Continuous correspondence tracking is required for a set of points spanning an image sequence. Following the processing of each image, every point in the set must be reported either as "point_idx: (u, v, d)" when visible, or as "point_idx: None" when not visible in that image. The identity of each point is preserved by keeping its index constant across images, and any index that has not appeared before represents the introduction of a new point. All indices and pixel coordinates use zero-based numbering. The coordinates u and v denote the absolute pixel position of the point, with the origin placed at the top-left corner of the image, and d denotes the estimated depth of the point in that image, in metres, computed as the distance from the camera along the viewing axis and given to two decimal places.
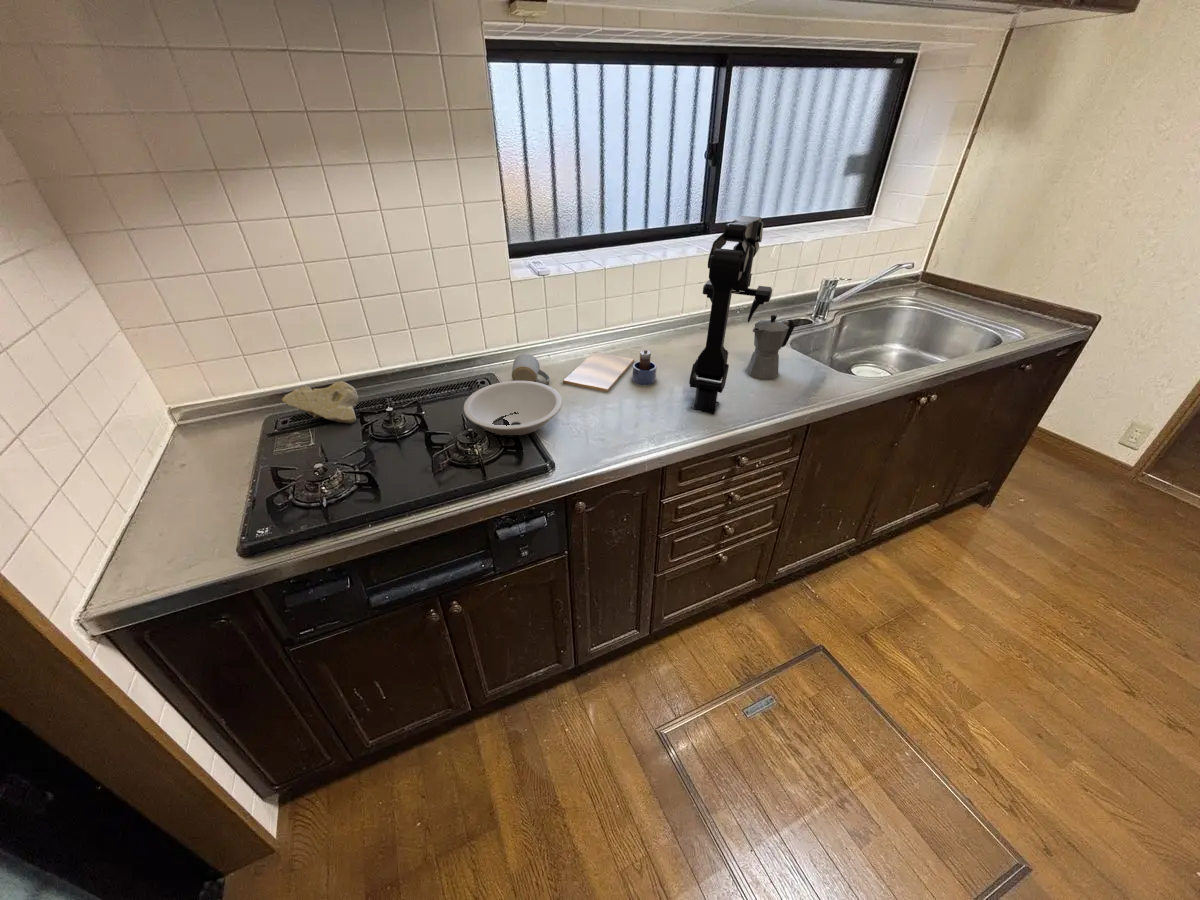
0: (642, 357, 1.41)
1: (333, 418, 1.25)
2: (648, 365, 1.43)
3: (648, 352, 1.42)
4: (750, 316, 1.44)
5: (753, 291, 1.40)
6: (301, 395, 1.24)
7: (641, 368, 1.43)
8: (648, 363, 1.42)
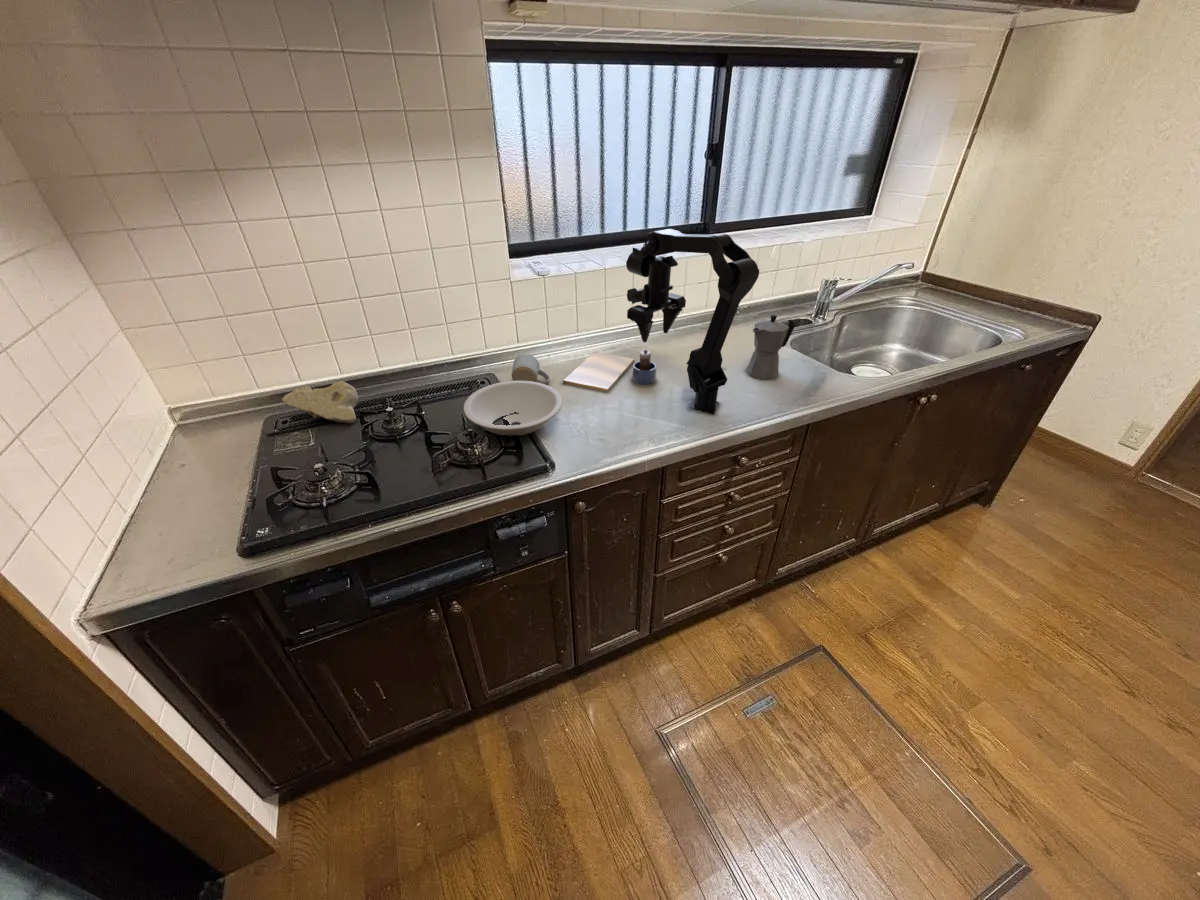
0: (642, 357, 1.41)
1: (333, 418, 1.25)
2: (648, 365, 1.43)
3: (648, 352, 1.42)
4: (670, 326, 1.41)
5: None
6: (301, 395, 1.24)
7: (641, 368, 1.43)
8: (648, 363, 1.42)
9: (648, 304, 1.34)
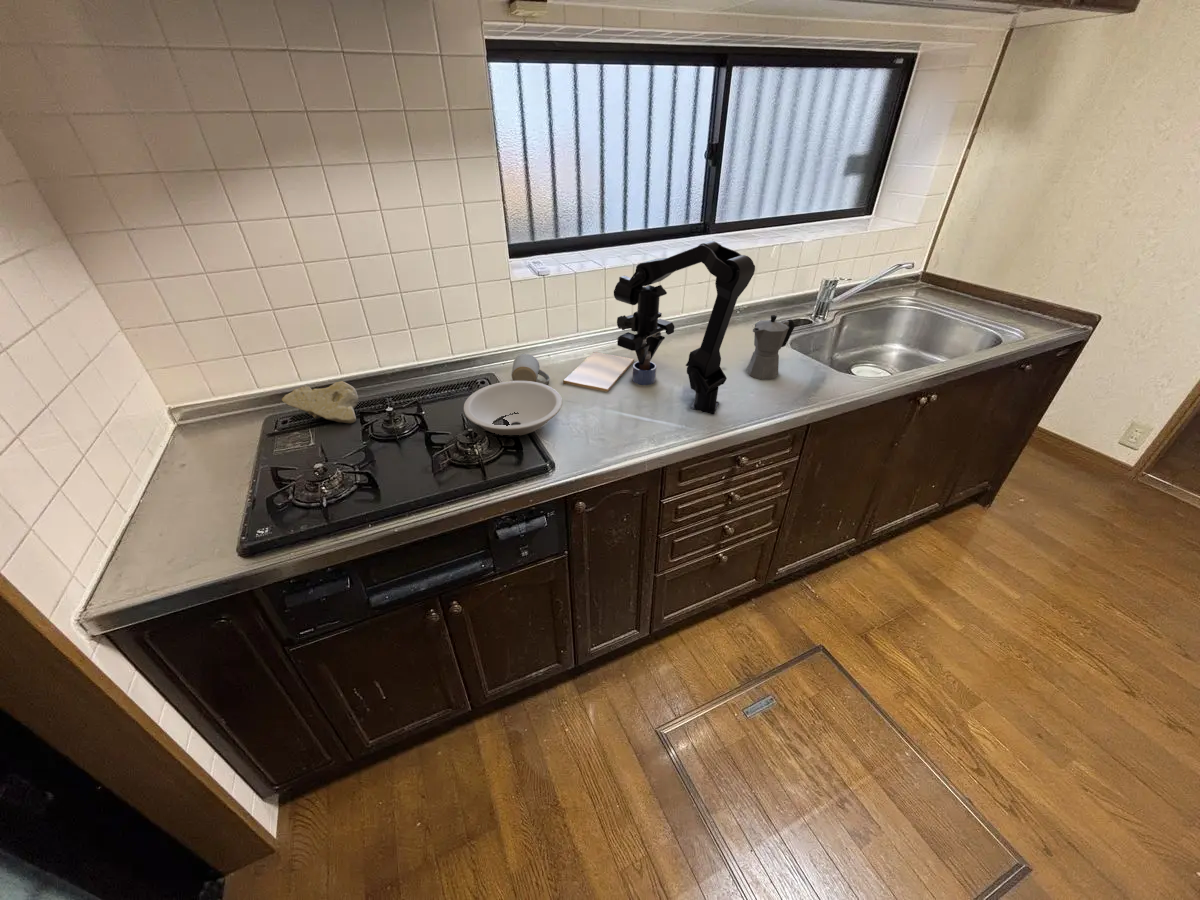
0: None
1: (333, 418, 1.25)
2: (648, 365, 1.43)
3: (648, 352, 1.42)
4: (653, 354, 1.43)
5: None
6: (301, 395, 1.24)
7: (641, 368, 1.43)
8: (648, 363, 1.42)
9: (638, 331, 1.37)
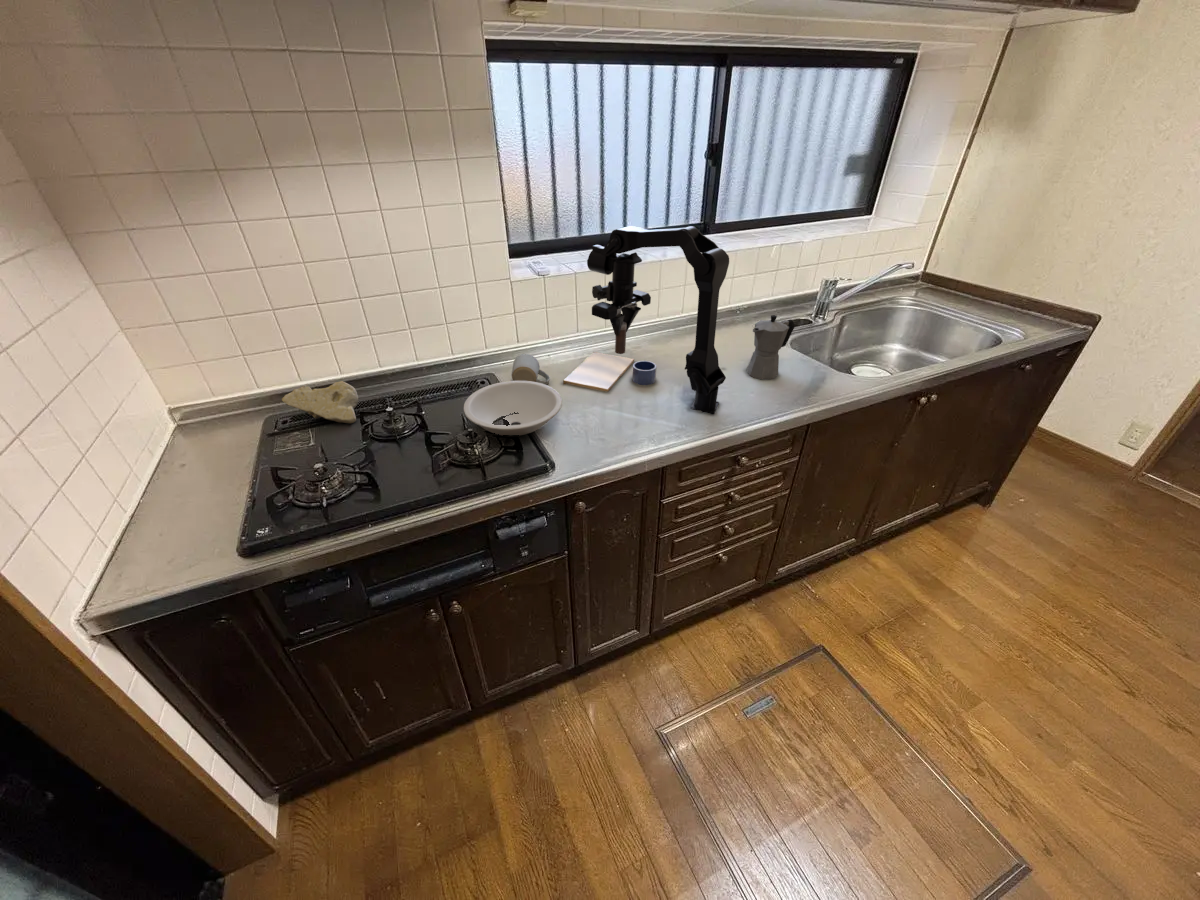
0: None
1: (333, 418, 1.25)
2: (624, 336, 1.41)
3: (624, 323, 1.40)
4: (629, 325, 1.41)
5: None
6: (301, 395, 1.24)
7: (617, 339, 1.42)
8: (624, 334, 1.41)
9: (613, 301, 1.35)
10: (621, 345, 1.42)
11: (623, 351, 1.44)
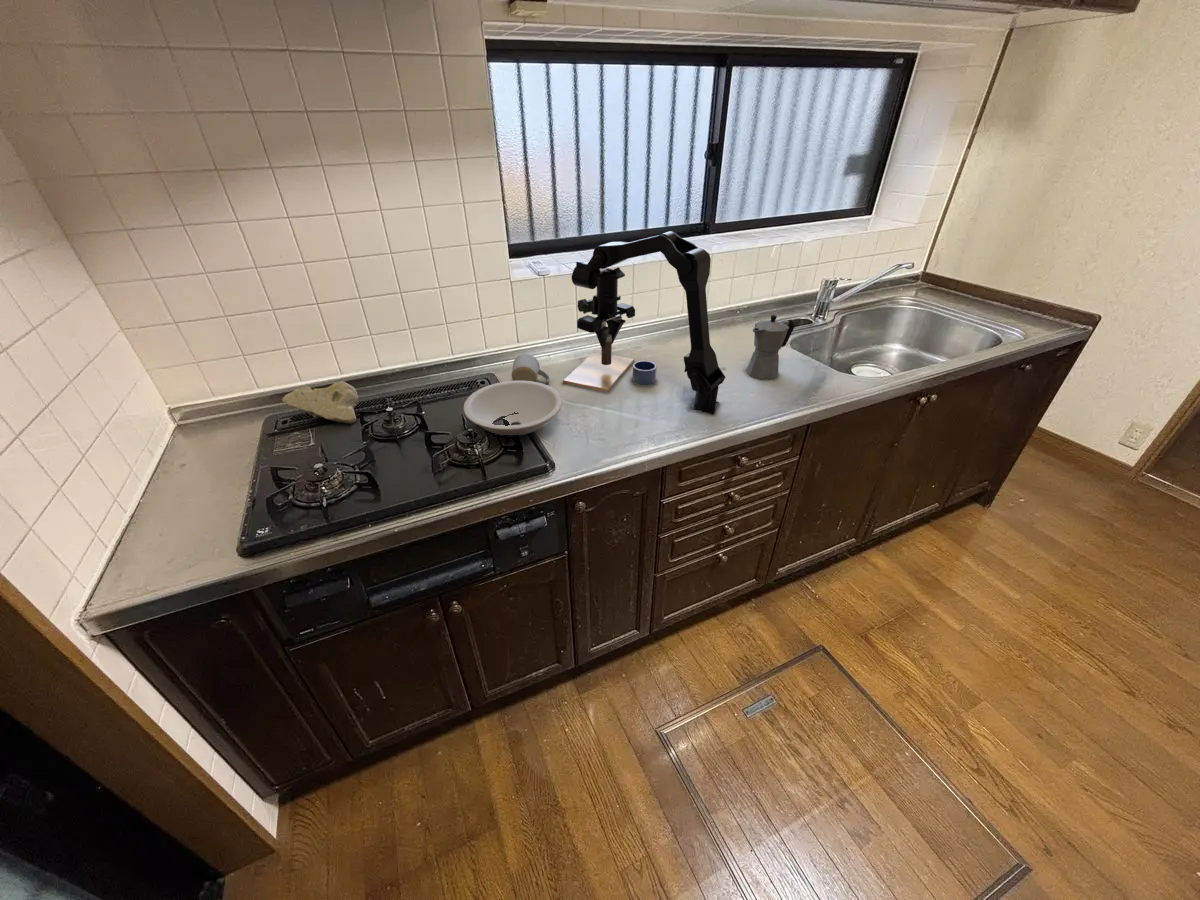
0: None
1: (333, 418, 1.25)
2: (609, 348, 1.45)
3: (609, 335, 1.44)
4: (614, 337, 1.45)
5: None
6: (301, 395, 1.24)
7: (603, 351, 1.45)
8: (609, 346, 1.44)
9: (597, 314, 1.39)
10: (607, 356, 1.46)
11: (609, 362, 1.47)
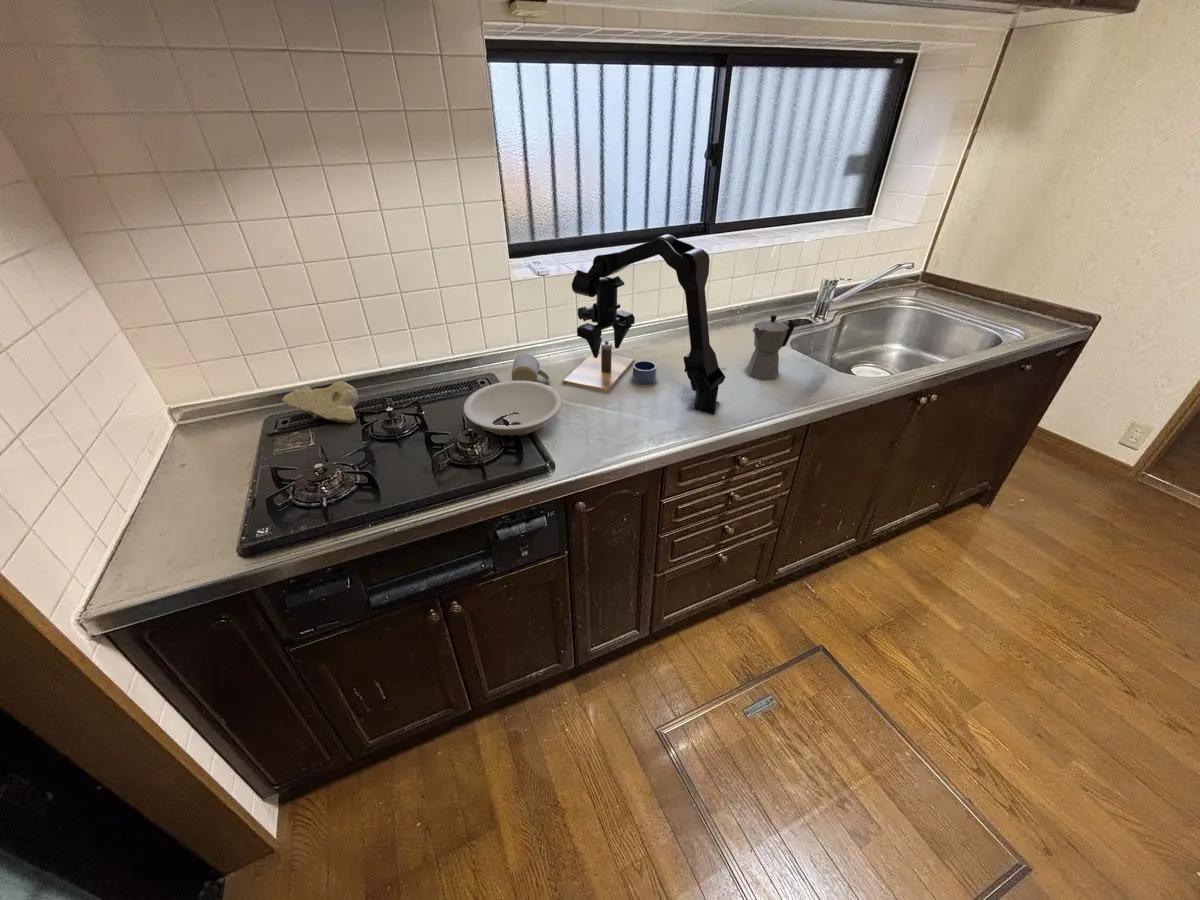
0: (603, 348, 1.45)
1: (333, 418, 1.25)
2: (609, 356, 1.46)
3: (609, 343, 1.45)
4: (621, 342, 1.48)
5: None
6: (301, 395, 1.24)
7: (603, 359, 1.47)
8: (609, 354, 1.46)
9: (597, 322, 1.40)
10: (606, 364, 1.47)
11: (609, 370, 1.49)
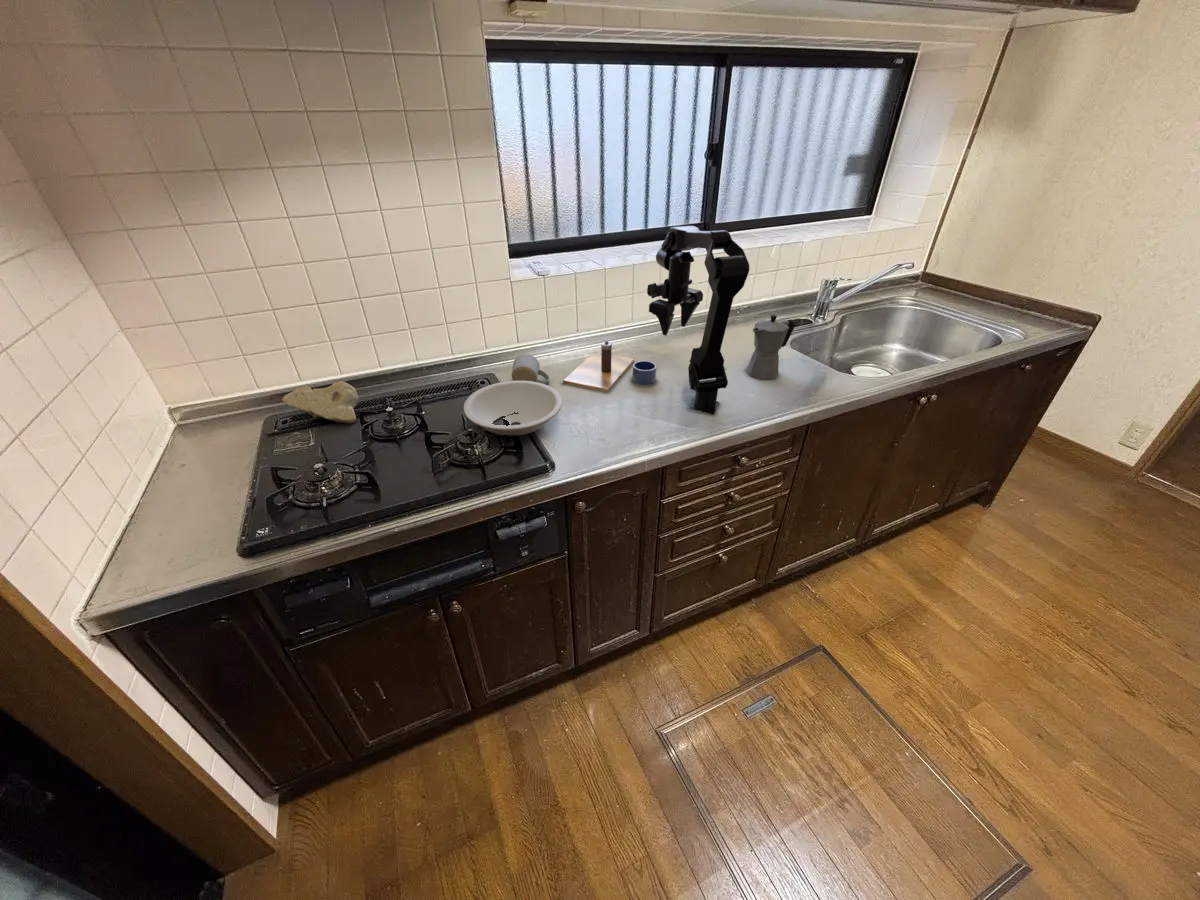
0: (603, 348, 1.45)
1: (333, 418, 1.25)
2: (609, 356, 1.46)
3: (609, 343, 1.45)
4: (688, 319, 1.46)
5: None
6: (301, 395, 1.24)
7: (603, 359, 1.47)
8: (609, 354, 1.46)
9: (668, 298, 1.38)
10: (606, 364, 1.47)
11: (609, 370, 1.49)
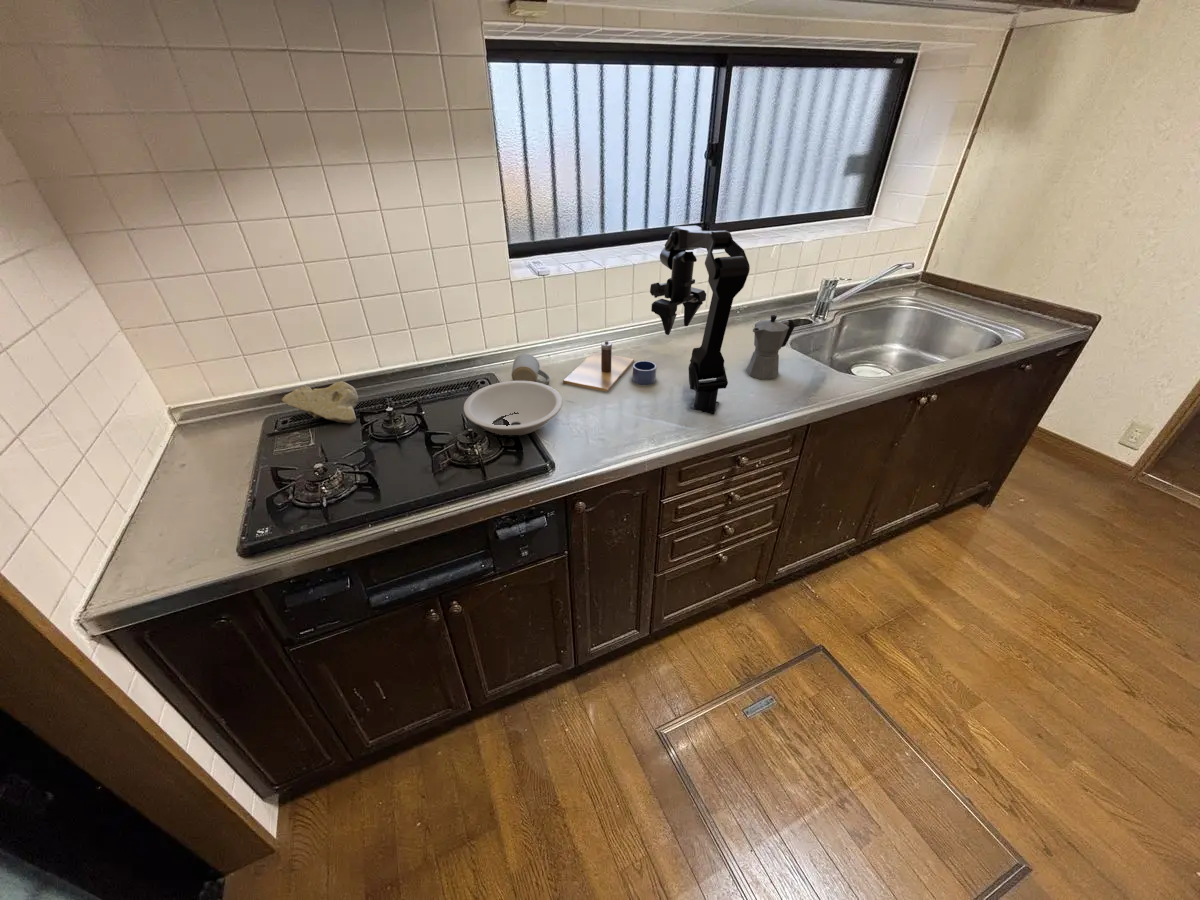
0: (603, 348, 1.45)
1: (333, 418, 1.25)
2: (609, 356, 1.46)
3: (609, 343, 1.45)
4: (691, 319, 1.46)
5: None
6: (301, 395, 1.24)
7: (603, 359, 1.47)
8: (609, 354, 1.46)
9: (671, 298, 1.38)
10: (606, 364, 1.47)
11: (609, 370, 1.49)
